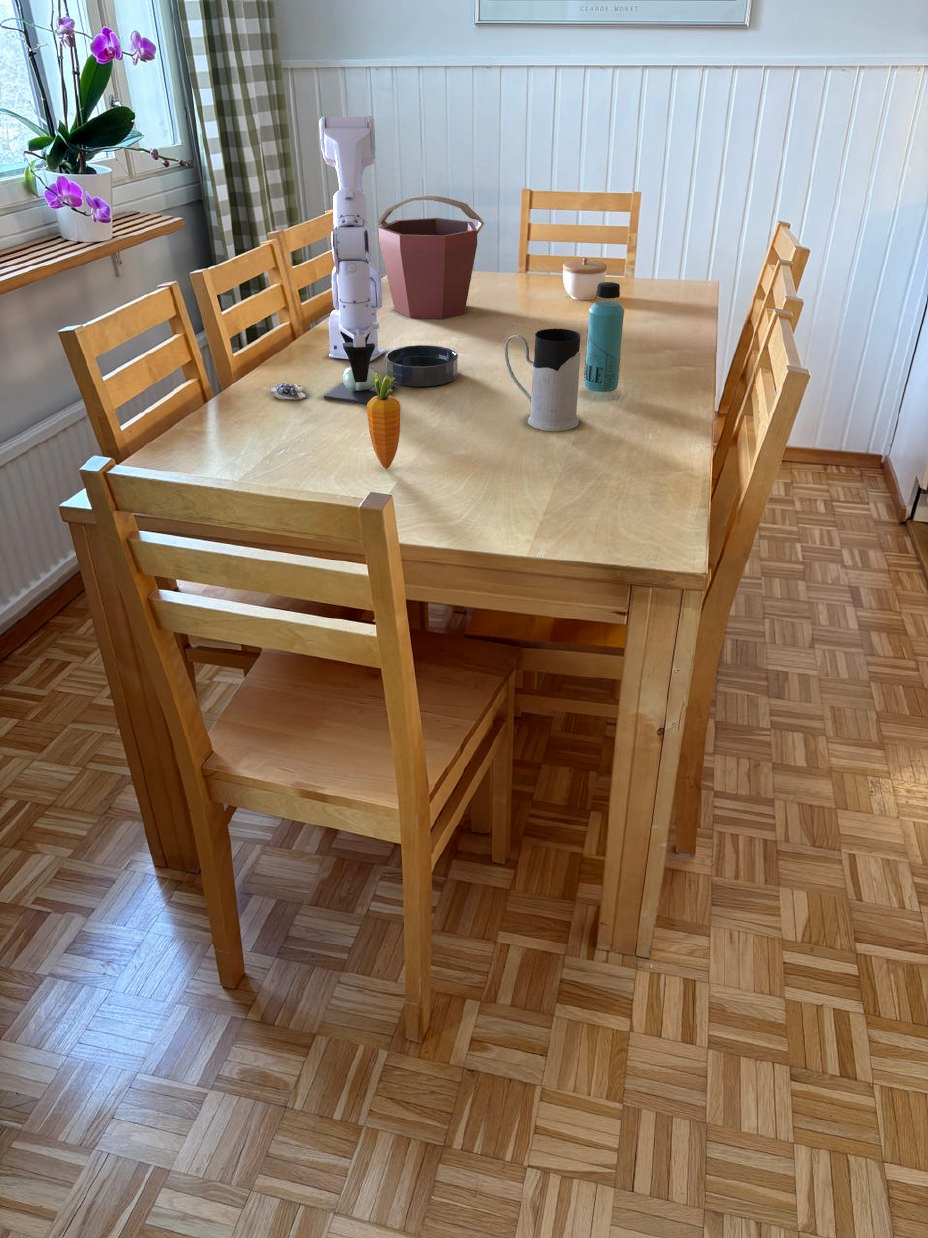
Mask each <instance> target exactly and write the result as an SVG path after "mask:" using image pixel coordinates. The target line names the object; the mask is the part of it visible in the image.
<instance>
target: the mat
mask: <svg viewBox="0 0 928 1238" xmlns="http://www.w3.org/2000/svg"><path fill="white" fill-rule="evenodd" d="M381 386H382V383H381ZM388 389H392V390H393V391H394V390H395V389H397V386H396V385H395V384H390V386H389V388H388ZM375 396H378V393H377V390H376V387H375V385H374V387H373V388H371V389H370V390H366V391H351V390H349V389H348V388H347V387H346V386H345V385H344V383H343V382H342V383H340V384H338V385H337V386H336V387H334V388H333V389H331V391H329V392H327V393H326V394H324V395H323V399H326V400H332V401H339V402H340V401H342V402H349V403H355V404H364V405H367V404H368V402H369V401H370V400H371V399H372V398H373V397H375Z"/></svg>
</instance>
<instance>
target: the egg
mask: <svg viewBox="0 0 928 1238" xmlns="http://www.w3.org/2000/svg"><path fill="white" fill-rule="evenodd" d="M375 374H376V372H375V371H374V369H373V368H372V367H370V366H369V370H368V377H367V382H357V383H356V382H355V380H354V377H353V373H352V368H351V366H350V367H348V368H346V369H345V371H344V372H343V375H342V383H344V385H345V386H346V387H347V388H348V389H349V390H351V391H366V390H370V389H371V388H373V387H374V385H375V377H374V375H375Z"/></svg>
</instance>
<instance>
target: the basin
mask: <svg viewBox="0 0 928 1238" xmlns="http://www.w3.org/2000/svg"><path fill="white" fill-rule="evenodd" d="M384 370H385V371H384V374H385V376H390V379H391V378H392V377H394V378H395V380H394V381H393V382H392V383H395V384H398V385H401V386H406V387H413V388H415V387H416V388H429V387H434V386H435V387H436V386H440V385H441V386H442V385H444V384H447V383H450V382H452V381H454V380H455V379H457V377H458V375H459V354H458V353H457V352H456V351H455V350H452V349H450V348H448V347H444V346H439V345H429V344H428V345H426V344H421V345H420V344H418V345H417V344H416V345H407V346H402V347H401V346H400V347H397V348H394V349H391V350H389V351H388V352H386V353H385V355H384Z"/></svg>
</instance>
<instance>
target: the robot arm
mask: <svg viewBox="0 0 928 1238" xmlns="http://www.w3.org/2000/svg"><path fill="white" fill-rule="evenodd" d="M319 138H320V140H319V141H320V150H321V153H322V156H323V160H324V161H325V165H328V166H329V167H333V168H335V171H336V173H337V179H338V188H339V189H338V190H337V191H336V192H335V193H334V195H333V199H332V201H333V202H332V204H333V229H332V230H331V252H332V258H333V263H334V267H333V270H332V271H331V293H332V304H333V308H334V309H333V310H332V311H331V313H330V315H329V318H328V337H329V350H330V352H329V354H328V357H329V358H333V359H343V360H348V361H349V364H350V367H351V368H352V373H353V377H354V380H355V382H356V383H357V382H367V377H368V370H369V367H370V363H371V362H372V361H374V360H375V359H377V358H378V357H380V356H381V355H383V354H384V353H385V352H386V353H387V350H386V348H380V347H379V337H378V329H379V328H380V324H379V322H378V319H377V315H378V314H377V313H378V311H377V310H381V308H382V307H383V291H382V287H383V286H382V279H381V270H379V267H378V266H377V265H376V264H374V263H373V262H372V261H371V259H372V246H371V245H372V244H371V231H370V228H369V227H370V226H369V222H368V210H367V208H368V207H367V198H366V195H365V194H364V192H363V175H364V173H365V169H366V168H367V167H369V166H371V165H373V164H374V163H375V159H376V133H375V119H374V118H373V117H372V115H368V116H325V115H322V116H321V118H319ZM367 254H368V258H367Z"/></svg>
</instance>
